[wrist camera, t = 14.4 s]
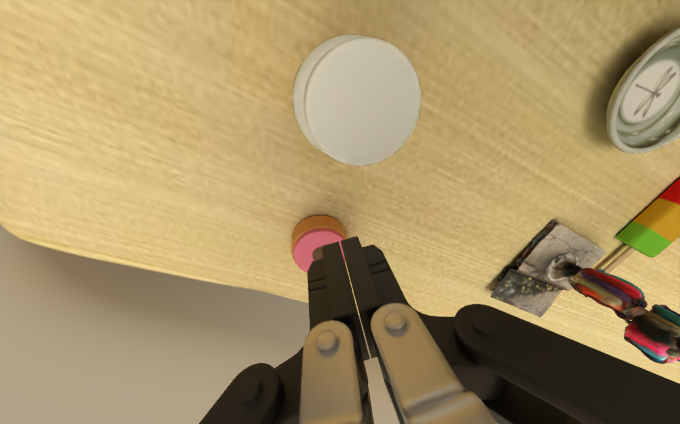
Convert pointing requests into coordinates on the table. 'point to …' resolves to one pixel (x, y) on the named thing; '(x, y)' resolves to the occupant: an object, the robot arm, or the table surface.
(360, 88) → the pill bottle
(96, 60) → the table surface
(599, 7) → the table surface
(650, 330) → the statue
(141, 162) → the table surface
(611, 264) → the popsicle
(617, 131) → the saucer
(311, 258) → the donut
